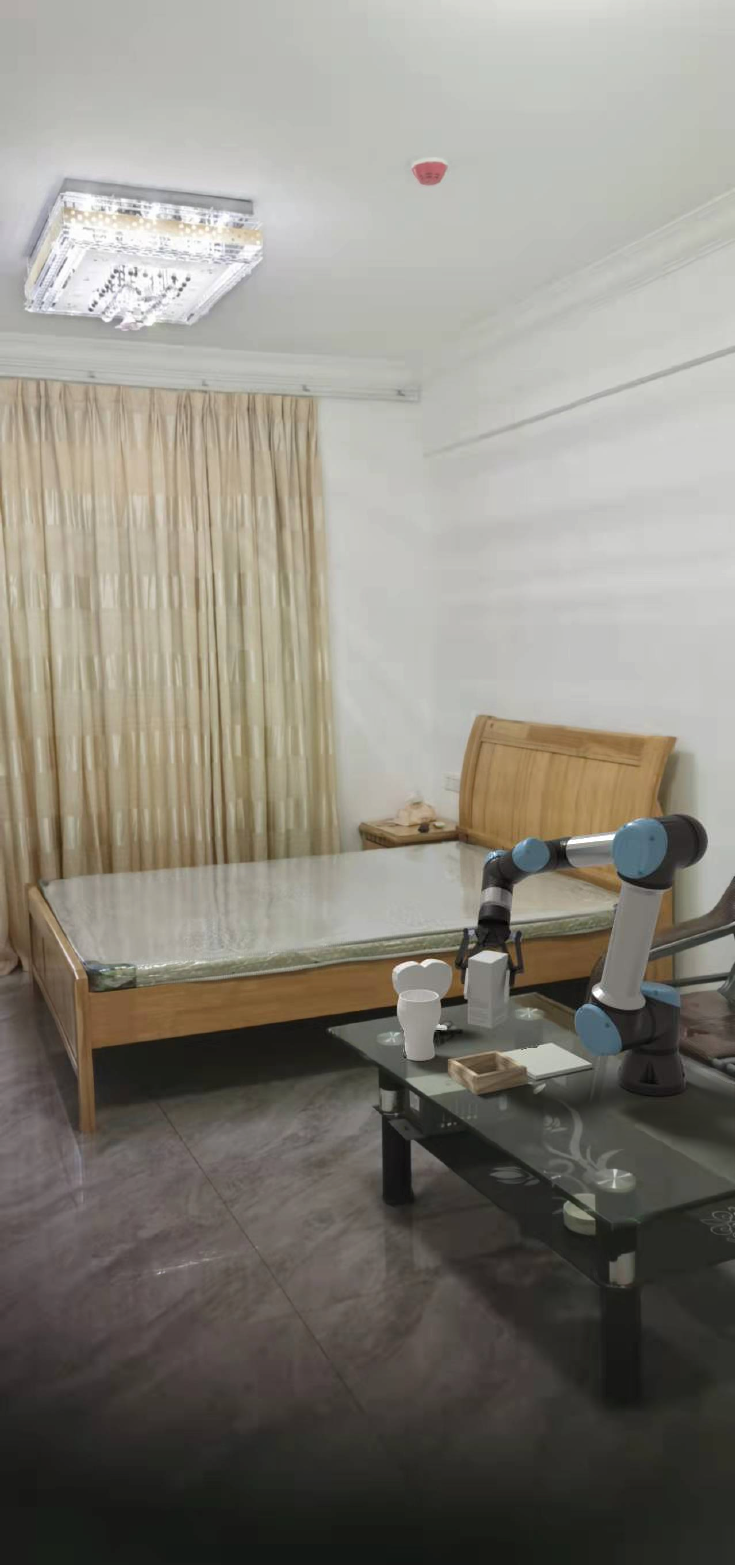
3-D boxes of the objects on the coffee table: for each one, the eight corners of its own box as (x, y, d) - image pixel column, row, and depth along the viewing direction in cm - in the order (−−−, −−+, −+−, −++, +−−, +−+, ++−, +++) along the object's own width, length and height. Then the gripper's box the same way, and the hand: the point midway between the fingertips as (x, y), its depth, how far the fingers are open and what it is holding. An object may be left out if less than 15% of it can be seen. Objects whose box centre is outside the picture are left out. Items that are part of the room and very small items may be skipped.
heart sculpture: (445, 1022, 308) (445, 956, 306) (453, 1028, 303) (453, 961, 301) (390, 1030, 303) (390, 962, 300) (398, 1036, 298) (398, 967, 296)
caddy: (526, 1084, 266) (526, 1067, 266) (476, 1094, 260) (476, 1077, 260) (496, 1066, 277) (496, 1050, 276) (447, 1076, 271) (447, 1059, 270)
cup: (437, 1064, 278) (437, 1003, 276) (393, 1061, 280) (393, 1000, 278) (443, 1049, 288) (443, 990, 287) (401, 1046, 291) (401, 987, 289)
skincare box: (484, 1014, 272) (484, 949, 270) (510, 1019, 268) (510, 953, 266) (466, 1024, 265) (466, 957, 263) (492, 1029, 261) (492, 961, 259)
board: (591, 1067, 276) (591, 1063, 276) (535, 1079, 269) (535, 1075, 268) (551, 1046, 290) (551, 1042, 290) (497, 1057, 283) (497, 1053, 283)
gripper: (541, 921, 277) (534, 1008, 263) (452, 917, 281) (441, 1002, 268) (539, 904, 271) (532, 992, 257) (448, 900, 276) (437, 986, 262)
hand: (485, 997), depth 263 cm, fingers closed on skincare box, 8 cm apart
